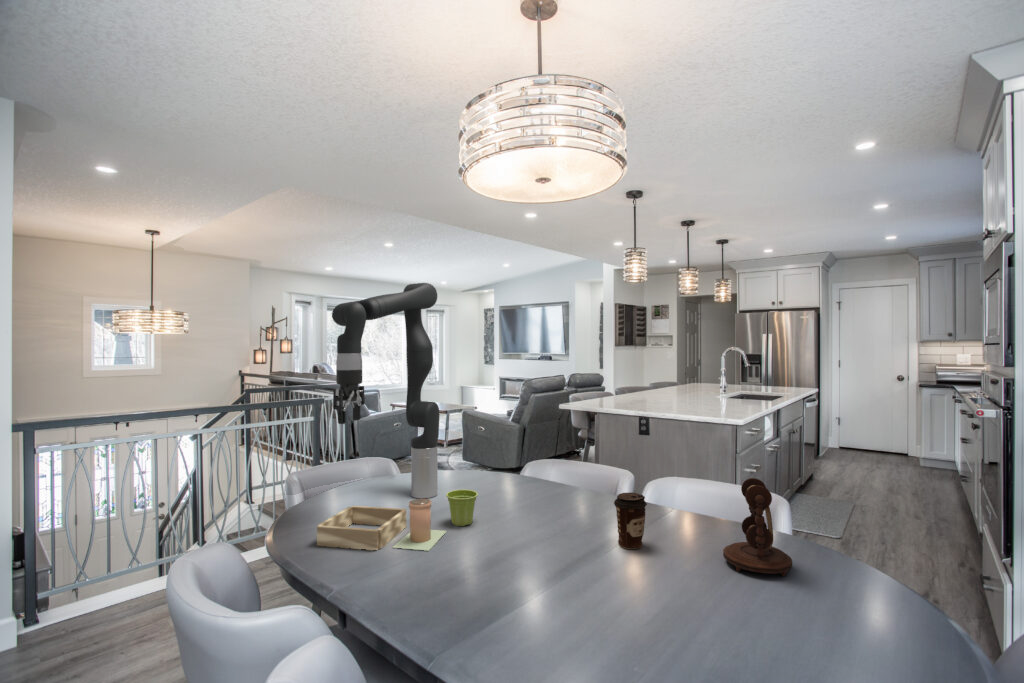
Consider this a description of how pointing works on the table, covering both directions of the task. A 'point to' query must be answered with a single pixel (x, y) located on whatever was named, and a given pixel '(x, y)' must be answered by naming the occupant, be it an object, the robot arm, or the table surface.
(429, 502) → the seedling pot
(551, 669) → the table surface
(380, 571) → the table surface
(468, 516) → the plant pot
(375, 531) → the frame
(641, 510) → the coffee cup
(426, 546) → the green mat
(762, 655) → the table surface
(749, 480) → the brown wooden stand
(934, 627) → the table surface
